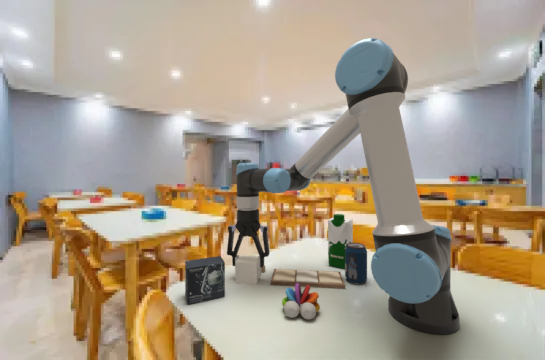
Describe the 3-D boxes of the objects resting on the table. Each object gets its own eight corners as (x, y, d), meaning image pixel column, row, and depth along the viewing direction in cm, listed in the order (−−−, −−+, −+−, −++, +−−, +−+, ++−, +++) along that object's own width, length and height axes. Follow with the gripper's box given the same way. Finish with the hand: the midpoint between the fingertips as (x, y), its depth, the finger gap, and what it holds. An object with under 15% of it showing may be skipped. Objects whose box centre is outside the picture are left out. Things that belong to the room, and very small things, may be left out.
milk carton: (325, 266, 94) (325, 214, 94) (333, 259, 102) (333, 211, 102) (348, 271, 90) (348, 216, 89) (354, 263, 97) (355, 213, 97)
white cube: (256, 284, 79) (256, 262, 79) (235, 283, 80) (235, 262, 80) (260, 275, 86) (260, 255, 86) (241, 274, 87) (240, 255, 87)
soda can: (363, 276, 85) (363, 242, 84) (369, 285, 78) (369, 248, 78) (343, 275, 85) (343, 241, 85) (347, 284, 79) (347, 247, 78)
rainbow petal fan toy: (319, 324, 58) (319, 293, 58) (279, 319, 60) (279, 290, 60) (320, 305, 66) (319, 279, 66) (284, 301, 68) (284, 276, 68)
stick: (264, 272, 89) (264, 267, 89) (240, 271, 90) (240, 266, 90) (265, 270, 91) (265, 265, 91) (241, 269, 92) (241, 264, 92)
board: (345, 288, 76) (345, 284, 76) (270, 284, 79) (270, 280, 79) (340, 274, 87) (340, 270, 87) (274, 271, 90) (274, 267, 90)
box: (187, 306, 66) (186, 268, 66) (184, 295, 72) (184, 260, 72) (225, 297, 71) (225, 261, 71) (220, 288, 77) (220, 255, 77)
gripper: (278, 207, 85) (278, 272, 86) (223, 206, 88) (223, 270, 88) (275, 210, 78) (276, 282, 78) (215, 209, 80) (216, 279, 81)
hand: (248, 275), depth 83 cm, fingers closed on white cube, 7 cm apart
